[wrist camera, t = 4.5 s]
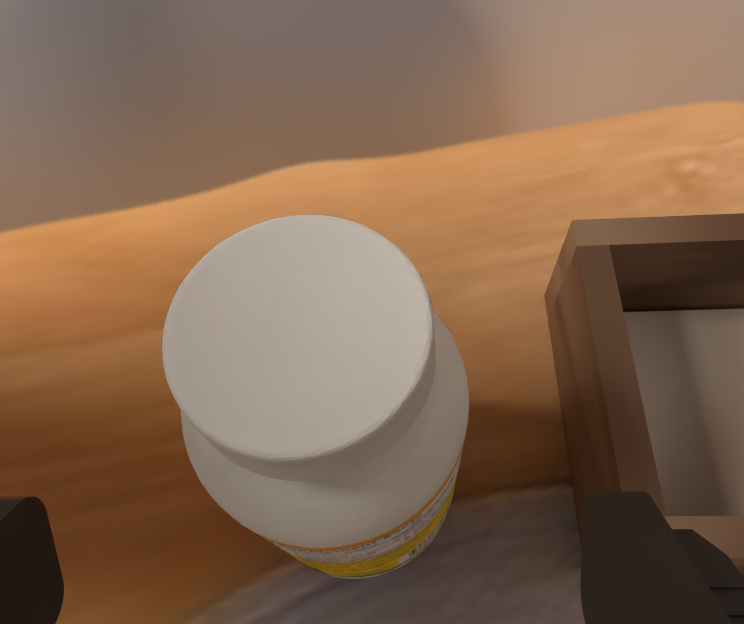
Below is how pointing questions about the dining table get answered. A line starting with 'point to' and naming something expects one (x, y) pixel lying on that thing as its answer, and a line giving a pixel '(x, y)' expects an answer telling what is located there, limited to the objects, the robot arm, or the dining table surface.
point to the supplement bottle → (319, 392)
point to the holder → (655, 366)
